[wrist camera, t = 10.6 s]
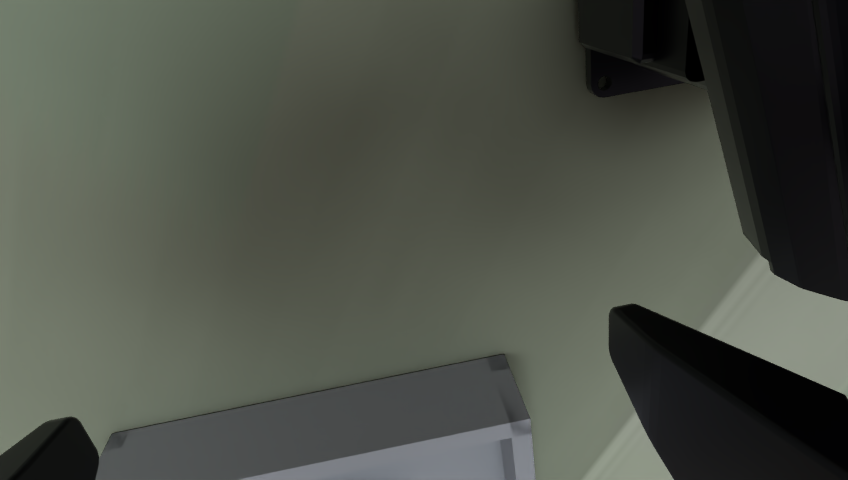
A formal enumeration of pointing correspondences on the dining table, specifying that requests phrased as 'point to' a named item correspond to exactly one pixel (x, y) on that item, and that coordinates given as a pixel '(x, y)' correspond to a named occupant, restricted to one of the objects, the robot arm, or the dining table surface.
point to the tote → (347, 434)
